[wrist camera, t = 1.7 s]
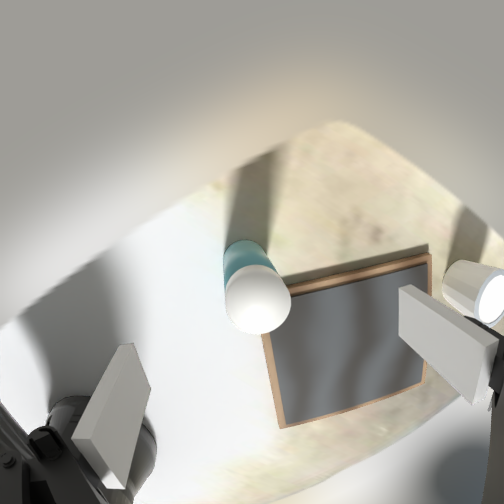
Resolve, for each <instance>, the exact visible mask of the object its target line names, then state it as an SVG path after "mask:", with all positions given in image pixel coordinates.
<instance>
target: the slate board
mask: <svg viewBox="0 0 504 504" xmlns="http://www.w3.org/2000/svg"><path fill="white" fill-rule="evenodd" d="M410 284H411V285H413V286H415V287H416V288H418V289H420V290H421V291H423V292H425V293H426V294H428V295H429V296H432V255H431V254H429V253H423V254H419V255H415V256H411V257H407V258H403V259H399V260H395V261H391V262H387V263H383V264H379V265H375V266H370V267H366V268H362V269H358V270H354V271H349V272H345V273H341V274H336V275H332V276H327V277H323V278H319V279H314V280H310V281H305V282H300V283H296V284H291V285H286V287H287V289H288V291H289V293H290V297H291V308H290V311H289V314H288V316H287V318H286V319H285V321H284V322H283V323H282V324H281V325H280V326H279V327H277V328H276V329H274V330H273V331H270V332H268V333H264V334H261V337H262V342H263V347H264V352H265V357H266V363H267V368H268V373H269V378H270V383H271V388H272V393H273V398H274V403H275V408H276V413H277V419H278V424H279V428H280V429H283V428H287V427H291V426H296V425H300V424H304V423H308V422H312V421H316V420H319V419H323V418H327V417H330V416H334V415H337V414H341V413H344V412H347V411H350V410H354V409H357V408H360V407H363V406H366V405H369V404H372V403H375V402H378V401H380V400H383V399H386V398H389V397H391V396H394V395H397V394H399V393H402V392H404V391H407V390H410V389H412V388H414V387H417V386H419V385H422V384H424V383H425V376H426V368H427V362H426V361H425V360H424V359H423V358H422V357H421V356H420V355H419V354H418V353H417V352H416V351H415V350H414V349H412V348H411V347H410V346H409V345H408V344H407V343H406V342H405V341H404V340H403V339H402V338H401V337H400V336H399V288H400V287H403V286H407V285H410Z"/></svg>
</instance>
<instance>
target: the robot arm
mask: <svg viewBox="0 0 504 504" xmlns="http://www.w3.org/2000/svg"><path fill="white" fill-rule="evenodd" d="M399 336H400V337H401V338H402V339H403V340H404V341H405V342H406V343H407V344H408V345H409V346H410V347H411V348H412V349H414V350H415V351H416V352H417V353H418V354H419V355H420V356H421V357H422V358H423V359H424V360H425V361H426V362H427V363H428V364H429V365H431V366H432V367H433V368H434V369H435V370H436V371H437V372H438V373H439V374H440V375H441V376H442V377H443V378H444V379H445V380H446V381H447V382H448V383H449V384H450V385H451V386H452V387H453V388H454V389H455V390H457V391H458V392H459V393H460V394H461V395H462V396H463V397H464V398H465V399H466V400H467V401H468V402H469V403H470V404H471V405H474V404H475V403H477V402H479V401H481V400H482V399H484V398H485V397H486V393H487V390H488V386H490V387H491V388H492V389H493V390H494V392H493V395H492V399H491V402H490V405H489V408H488V411H490V410H491V407H492V416H491V435H490V447H489V457H488V466H487V474H486V480H485V486H484V492H483V498H482V503H481V504H504V336H502V335H501V334H499V333H498V332H496V331H495V330H493V329H491V328H489V327H488V326H487V325H485V324H483V323H482V322H480V321H479V320H477V319H475V318H472V317H469V316H462V315H460V314H459V313H457V312H455V311H454V310H452V309H451V308H449V307H447V306H446V305H444V304H443V303H441V302H439V301H438V300H436V299H434V298H433V297H431V296H429V295H428V294H426V293H425V292H423V291H421V290H420V289H418V288H416V287H415V286H413V285H411V284H410V285H407V286H403V287H400V288H399ZM150 391H151V387H150V385H149V382H148V380H147V377H146V375H145V372H144V370H143V367H142V365H141V362H140V359H139V357H138V354H137V351H136V349H135V346H134V343H131V344H123V345H119V347H118V348H117V350H116V352H115V354H114V356H113V357H112V359H111V361H110V363H109V365H108V367H107V369H106V370H105V372H104V374H103V376H102V378H101V380H100V382H99V384H98V386H97V387H96V389H95V391H94V393H93V395H92V397H86V396H73V397H67V398H64V399H62V400H60V401H59V402H58V403H56V405H55V406H54V407H53V409H52V411H51V412H50V414H49V416H48V418H47V420H46V426H42V427H39V428H37V429H35V430H33V431H32V432H31V433H30V434H29V435H28V434H27V433H26V432H25V431H24V430H23V429H22V428H21V426H20V425H19V424H18V423H17V422H16V420H15V419H14V418H13V417H12V416H11V414H10V413H9V412H8V411H7V409H6V408H5V407H4V405H3V404H2V403H1V401H0V504H133V500H134V497H135V495H136V494H137V492H138V491H139V490H140V488H141V487H142V485H143V484H144V482H145V481H146V479H147V477H148V476H149V475H150V474H151V473H152V471H153V469H154V465H155V460H156V454H157V449H156V444H155V441H154V439H153V437H152V435H151V434H150V432H149V431H148V430H147V429H146V427H145V426H144V425H143V424H142V420H143V416H144V413H145V409H146V406H147V402H148V398H149V395H150Z"/></svg>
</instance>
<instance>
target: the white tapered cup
mask: <svg viewBox="0 0 504 504" xmlns="http://www.w3.org/2000/svg"><path fill="white" fill-rule="evenodd" d="M442 293H443V296H444V298H445V299H446V300H447V301H448V302H449V303H450V304H451V305H452V306H454V307H455V308H456V309H457V310H459V311H460V312H461V313H462V314H464V315H465V316H469V317H472V318H475V319H477V320H479V321H480V322H482V323H483V324H485V325H487V326H488V327H489V328H491V327H493V326H495V325H496V324H497V323H498V322H499V321H500V320H501V319H502V317H503V315H504V270H503V269H500V268H496V267H492V266H488V265H484V264H479V263H475V262H471V261H467V260H463V259H462V260H458V261H456V262H454V263H453V264H452V265H451V266H450V267H449V268H448V270H447V272H446V273H445V276H444V279H443V282H442Z"/></svg>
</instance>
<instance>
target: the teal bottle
mask: <svg viewBox="0 0 504 504" xmlns="http://www.w3.org/2000/svg"><path fill="white" fill-rule="evenodd" d="M223 268H224V287H225V304H226V312H227V315H228V317H229V319H230V321H231V322H232V323H233V325H234V326H236V327H237V328H238V329H240V330H242V331H244V332H246V333H250V334H264V333H268V332H270V331H273V330H274V329H276V328H277V327H279V326H280V325H281V324H282V323H283V322H284V321H285V319H286V318H287V316H288V314H289V311H290V308H291V297H290V293H289V291H288V289H287V287H286V285H285V284H284V282H283V281H282V279H281V277H280V276H279V274H278V273H277V271H276V269H275V268H274V266H273V265H272V263H271V261H270V260H269V258H268V257H267V255H266V253H265V252H264V250H263V249H262V247H261V246H260V245H259V244H257V243H256V242H253V241H251V240H240V241H237V242H234V243H233V244H231V245H230V246H229V247H228V248H227V250H226V252H225V254H224V258H223Z"/></svg>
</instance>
